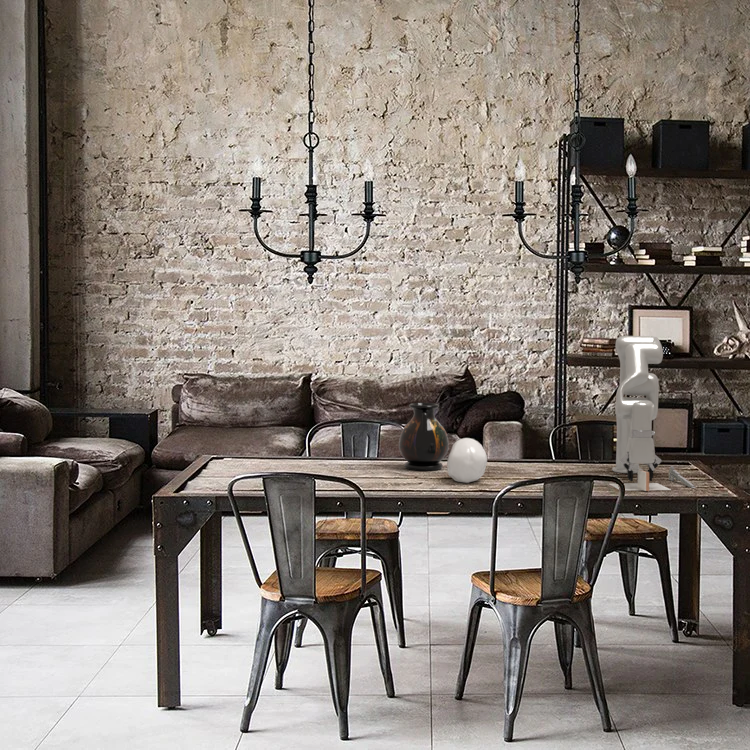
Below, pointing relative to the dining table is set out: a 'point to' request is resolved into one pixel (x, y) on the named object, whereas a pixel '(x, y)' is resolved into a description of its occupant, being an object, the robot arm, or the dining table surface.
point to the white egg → (466, 460)
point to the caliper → (678, 477)
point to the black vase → (423, 439)
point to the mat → (635, 487)
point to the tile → (643, 480)
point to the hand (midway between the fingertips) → (640, 480)
